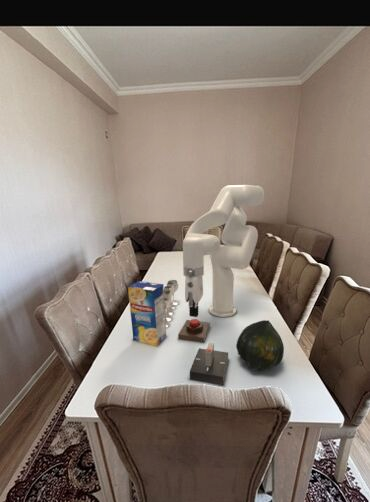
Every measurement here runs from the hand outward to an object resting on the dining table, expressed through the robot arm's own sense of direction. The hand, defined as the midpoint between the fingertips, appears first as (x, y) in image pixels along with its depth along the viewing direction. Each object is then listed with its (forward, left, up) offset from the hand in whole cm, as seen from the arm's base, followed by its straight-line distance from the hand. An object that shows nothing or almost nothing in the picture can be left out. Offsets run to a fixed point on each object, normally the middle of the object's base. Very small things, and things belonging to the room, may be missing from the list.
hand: (194, 315), depth 98 cm
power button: (0, 0, -4) cm, 4 cm away
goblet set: (-14, -16, -8) cm, 23 cm away
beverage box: (+8, -16, -8) cm, 19 cm away
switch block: (0, 0, -8) cm, 8 cm away
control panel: (+20, +10, -8) cm, 23 cm away
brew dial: (+20, +10, -5) cm, 23 cm away
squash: (+12, +25, -8) cm, 29 cm away
